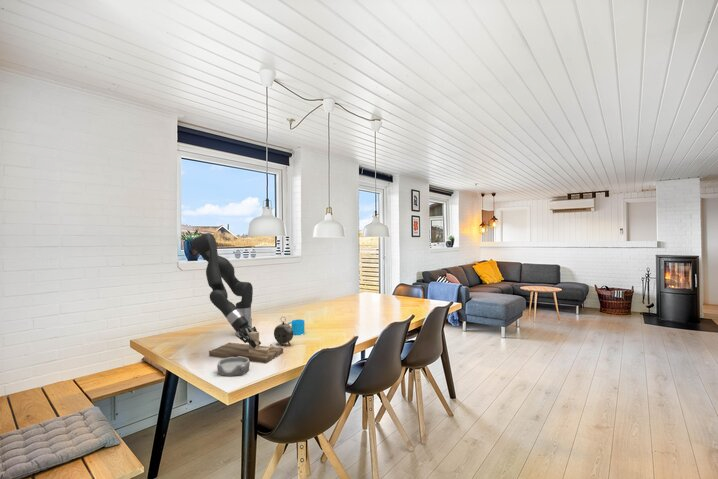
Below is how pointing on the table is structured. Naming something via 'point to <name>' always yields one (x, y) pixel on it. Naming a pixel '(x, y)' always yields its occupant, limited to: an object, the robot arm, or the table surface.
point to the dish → (233, 366)
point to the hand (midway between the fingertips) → (257, 345)
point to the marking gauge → (258, 350)
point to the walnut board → (244, 352)
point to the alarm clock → (283, 333)
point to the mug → (297, 327)
